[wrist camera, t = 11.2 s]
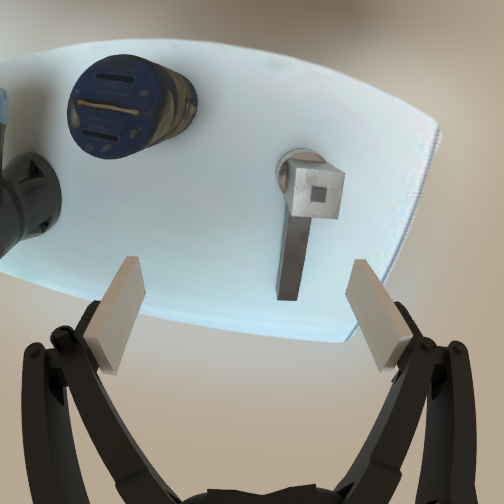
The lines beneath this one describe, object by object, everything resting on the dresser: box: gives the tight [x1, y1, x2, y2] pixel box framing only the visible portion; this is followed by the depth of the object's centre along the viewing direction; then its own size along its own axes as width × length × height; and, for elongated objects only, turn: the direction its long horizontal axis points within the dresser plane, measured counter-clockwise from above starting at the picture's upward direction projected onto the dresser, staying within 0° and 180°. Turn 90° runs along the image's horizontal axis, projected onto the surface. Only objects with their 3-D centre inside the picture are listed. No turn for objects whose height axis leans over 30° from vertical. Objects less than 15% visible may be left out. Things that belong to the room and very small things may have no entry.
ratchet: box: [276, 148, 326, 301], centre depth 38 cm, size 7×24×7 cm, turn 177°
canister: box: [67, 54, 197, 159], centre depth 24 cm, size 10×10×18 cm
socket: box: [284, 158, 345, 219], centre depth 31 cm, size 5×5×7 cm
